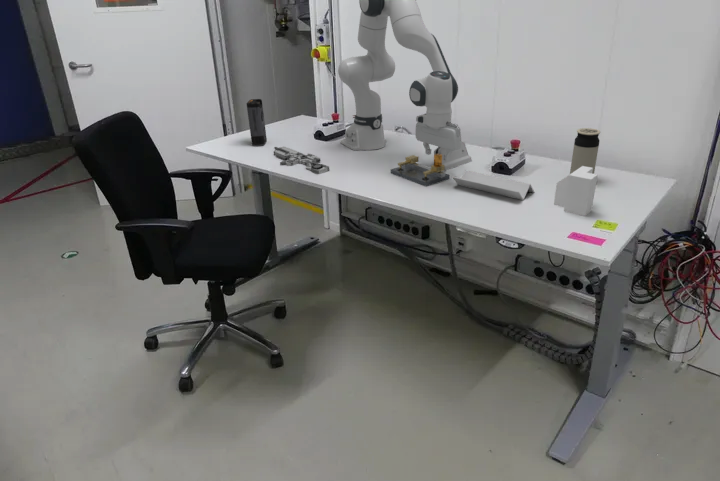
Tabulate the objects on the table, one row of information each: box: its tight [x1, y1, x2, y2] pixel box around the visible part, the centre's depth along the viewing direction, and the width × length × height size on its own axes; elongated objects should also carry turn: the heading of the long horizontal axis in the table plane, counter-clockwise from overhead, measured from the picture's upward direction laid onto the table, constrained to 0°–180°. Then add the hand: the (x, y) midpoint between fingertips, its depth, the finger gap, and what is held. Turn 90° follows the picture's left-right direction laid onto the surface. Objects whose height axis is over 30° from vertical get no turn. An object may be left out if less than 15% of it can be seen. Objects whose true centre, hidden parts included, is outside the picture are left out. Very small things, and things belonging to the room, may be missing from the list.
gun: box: [273, 146, 330, 175], centre depth 221 cm, size 41×3×15 cm
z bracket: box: [452, 169, 535, 201], centre depth 182 cm, size 12×25×6 cm
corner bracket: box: [553, 166, 599, 217], centre depth 165 cm, size 11×11×12 cm
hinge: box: [433, 141, 473, 172], centre depth 209 cm, size 17×5×10 cm, turn 130°
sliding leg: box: [423, 153, 445, 179], centre depth 191 cm, size 3×8×8 cm, turn 127°
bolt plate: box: [389, 154, 451, 187], centre depth 198 cm, size 20×12×5 cm, turn 37°
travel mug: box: [569, 127, 601, 175], centre depth 184 cm, size 8×8×18 cm
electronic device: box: [246, 98, 268, 147], centre depth 243 cm, size 9×6×20 cm, turn 179°
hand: (437, 157), depth 192 cm, fingers open, 8 cm apart
